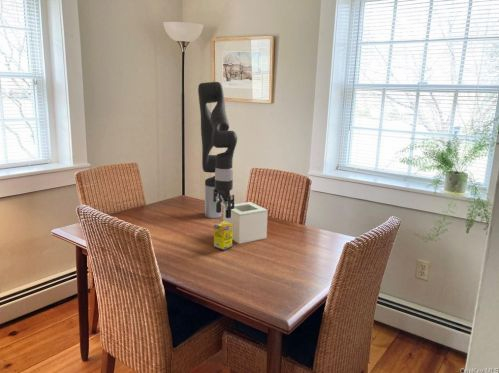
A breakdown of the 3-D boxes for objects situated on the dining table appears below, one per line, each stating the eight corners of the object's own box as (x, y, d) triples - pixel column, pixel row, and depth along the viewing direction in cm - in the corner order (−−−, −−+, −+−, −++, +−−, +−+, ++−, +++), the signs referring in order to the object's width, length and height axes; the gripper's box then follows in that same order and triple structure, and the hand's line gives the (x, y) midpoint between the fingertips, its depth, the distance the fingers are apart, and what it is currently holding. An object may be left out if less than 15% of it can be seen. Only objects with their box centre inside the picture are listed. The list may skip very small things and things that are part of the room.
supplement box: (223, 251, 177) (224, 227, 174) (213, 247, 180) (213, 224, 177) (232, 247, 181) (233, 223, 179) (222, 244, 185) (222, 220, 182)
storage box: (223, 233, 198) (223, 205, 194) (249, 228, 206) (250, 201, 202) (239, 243, 185) (239, 214, 182) (266, 238, 193) (267, 209, 190)
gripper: (208, 175, 177) (208, 212, 181) (224, 182, 165) (223, 221, 169) (223, 174, 181) (223, 209, 185) (240, 180, 169) (239, 218, 173)
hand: (223, 215), depth 177 cm, fingers open, 8 cm apart
